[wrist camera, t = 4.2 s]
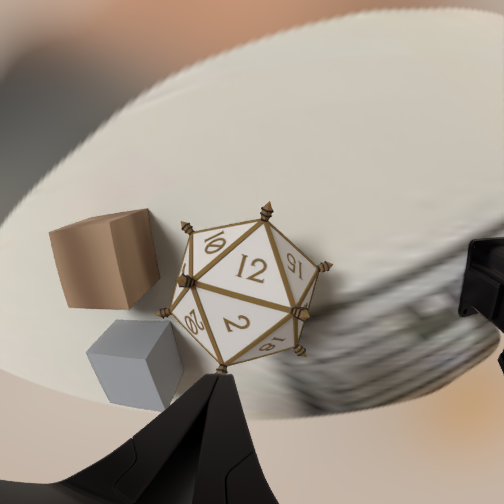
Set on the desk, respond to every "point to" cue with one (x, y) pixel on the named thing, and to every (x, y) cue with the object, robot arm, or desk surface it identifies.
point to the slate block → (137, 363)
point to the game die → (243, 290)
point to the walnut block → (106, 260)
